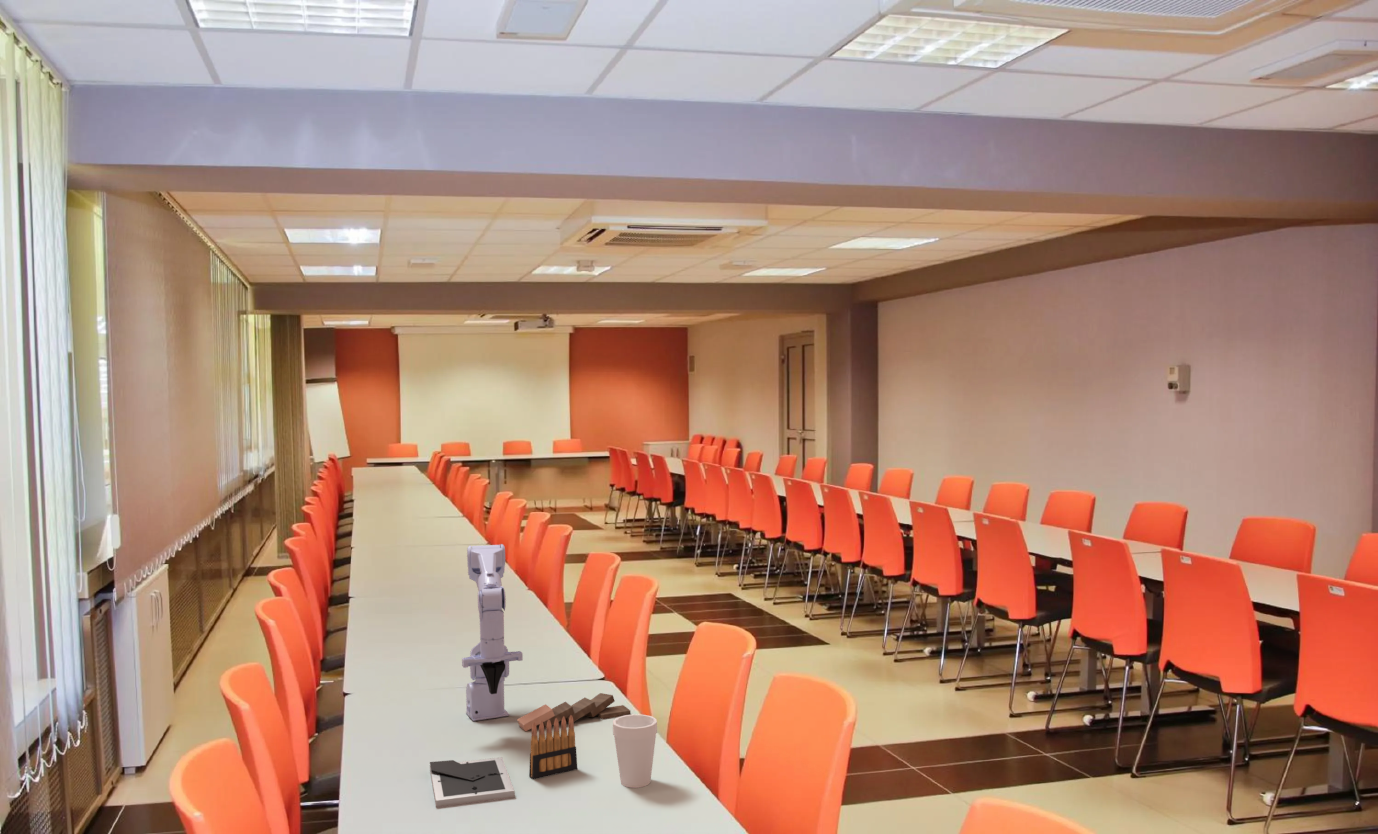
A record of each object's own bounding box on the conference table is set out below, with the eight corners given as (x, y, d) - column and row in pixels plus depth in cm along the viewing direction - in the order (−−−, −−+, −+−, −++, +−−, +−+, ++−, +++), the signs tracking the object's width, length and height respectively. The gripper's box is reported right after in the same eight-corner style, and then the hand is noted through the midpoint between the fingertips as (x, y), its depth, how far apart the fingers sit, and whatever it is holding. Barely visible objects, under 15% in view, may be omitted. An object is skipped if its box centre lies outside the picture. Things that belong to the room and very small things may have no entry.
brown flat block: (601, 714, 261) (630, 710, 265) (594, 709, 266) (623, 704, 269) (601, 721, 261) (630, 717, 265) (594, 716, 266) (623, 711, 269)
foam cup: (637, 770, 225) (637, 711, 225) (666, 781, 219) (666, 720, 218) (604, 782, 219) (603, 721, 218) (633, 793, 212) (632, 731, 212)
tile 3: (568, 717, 257) (594, 701, 261) (558, 712, 261) (584, 697, 265) (570, 723, 257) (596, 707, 262) (561, 719, 262) (586, 703, 266)
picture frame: (430, 774, 226) (435, 810, 206) (429, 761, 226) (435, 796, 206) (502, 766, 231) (514, 800, 211) (501, 753, 231) (514, 787, 211)
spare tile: (523, 724, 252) (552, 709, 255) (517, 719, 256) (545, 704, 260) (525, 731, 252) (554, 715, 256) (519, 725, 257) (548, 710, 260)
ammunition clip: (532, 779, 221) (531, 724, 221) (529, 776, 222) (528, 721, 222) (577, 769, 227) (576, 715, 226) (573, 766, 228) (573, 713, 228)
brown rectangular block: (543, 721, 254) (572, 706, 258) (537, 716, 259) (565, 701, 262) (546, 728, 255) (574, 713, 258) (539, 722, 259) (567, 707, 262)
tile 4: (590, 710, 261) (612, 694, 266) (578, 708, 264) (600, 692, 270) (592, 717, 261) (614, 701, 267) (580, 714, 265) (602, 699, 270)
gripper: (466, 644, 244) (467, 701, 244) (525, 637, 250) (526, 692, 251) (459, 638, 250) (460, 693, 251) (517, 631, 257) (518, 685, 257)
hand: (493, 692), depth 251 cm, fingers closed
